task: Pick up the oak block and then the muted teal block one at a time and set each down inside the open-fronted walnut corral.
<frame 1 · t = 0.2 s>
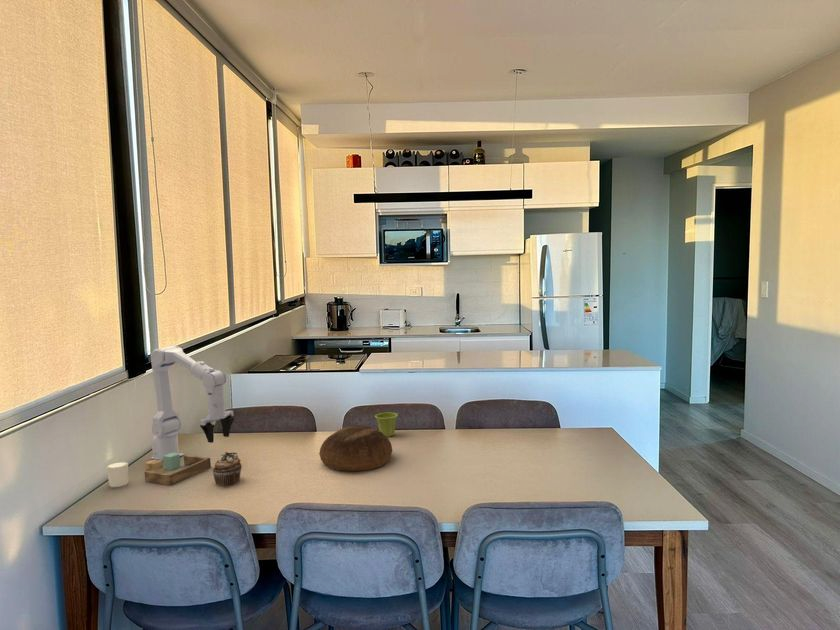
hand: (218, 439, 223), 10 cm above the table, fingers open, 7 cm apart
bread: (357, 461, 223), on the table
plant pot: (387, 435, 255), on the table
oak block: (154, 475, 216), on the table
teal block: (172, 467, 223), on the table
white cylinder: (118, 484, 208), on the table
cupcake: (228, 482, 206), on the table
corral: (178, 474, 216), on the table
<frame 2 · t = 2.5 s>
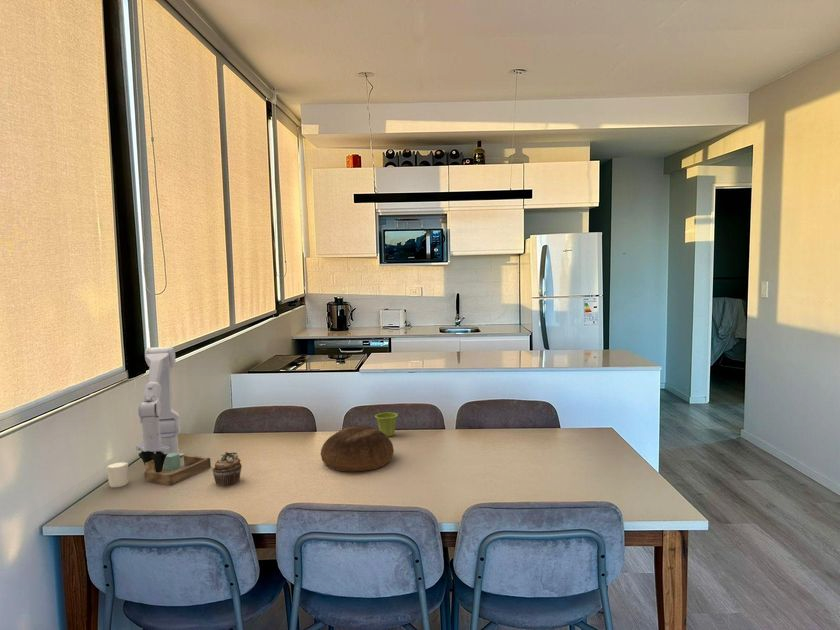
hand: (154, 471, 216), 1 cm above the table, fingers closed on oak block, 4 cm apart
oak block: (154, 475, 216), on the table, touching gripper
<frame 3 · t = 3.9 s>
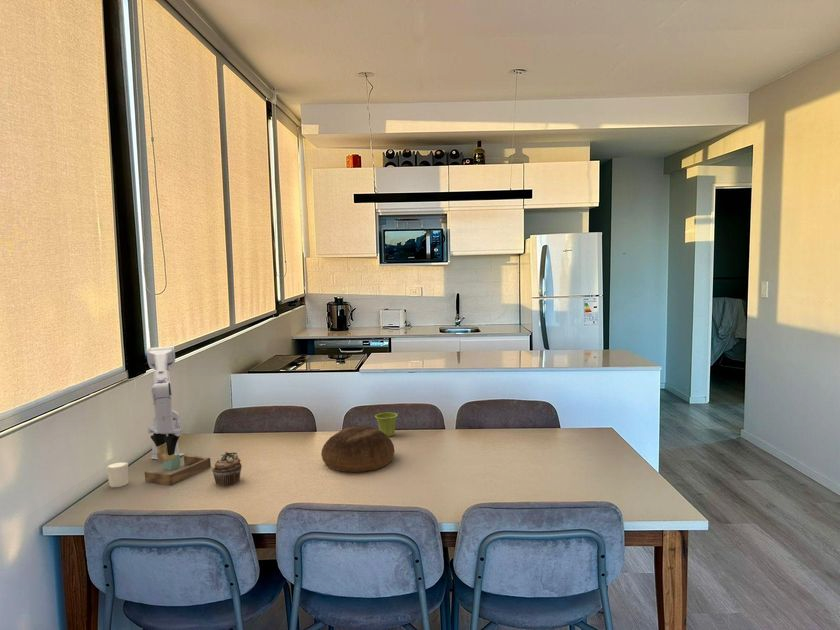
hand: (166, 453, 212), 8 cm above the table, fingers closed on oak block, 4 cm apart
oak block: (166, 459, 212), point 7 cm above the table, touching gripper
when the fingers open (4 cm above the table, at t = 5.2 s): oak block drops 2 cm, on the table.
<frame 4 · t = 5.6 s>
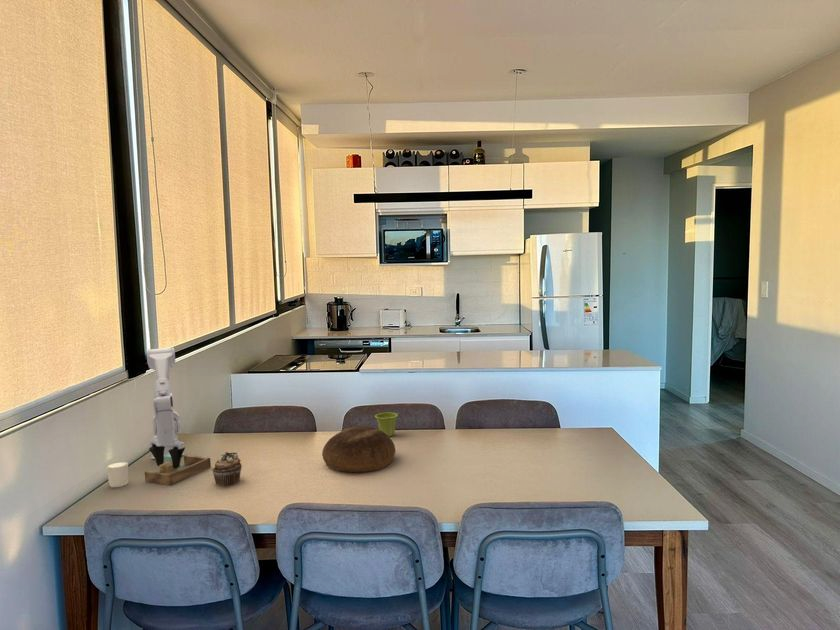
hand: (168, 466, 212), 4 cm above the table, fingers open, 7 cm apart
oak block: (168, 477, 213), on the table
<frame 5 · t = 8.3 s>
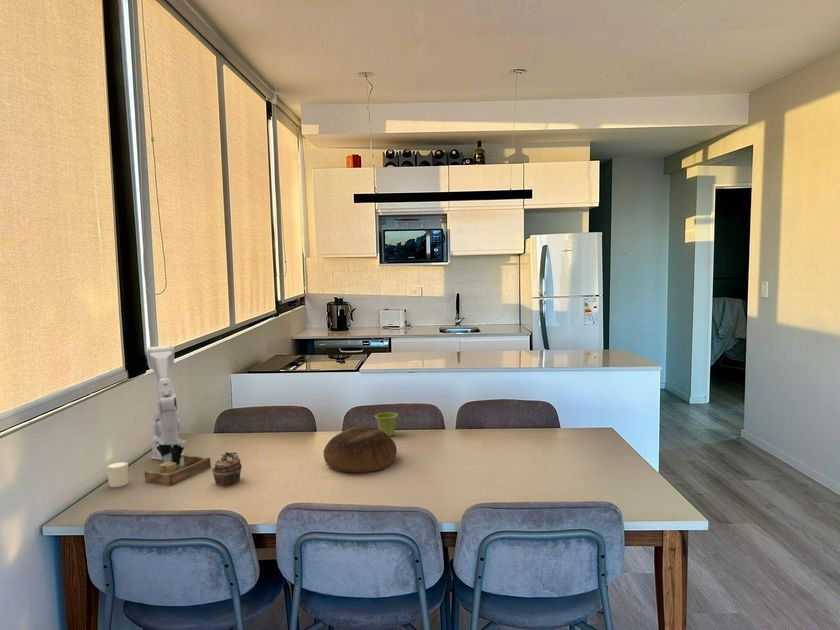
hand: (171, 464, 223), 1 cm above the table, fingers closed on teal block, 4 cm apart
teal block: (172, 467, 223), on the table, touching gripper
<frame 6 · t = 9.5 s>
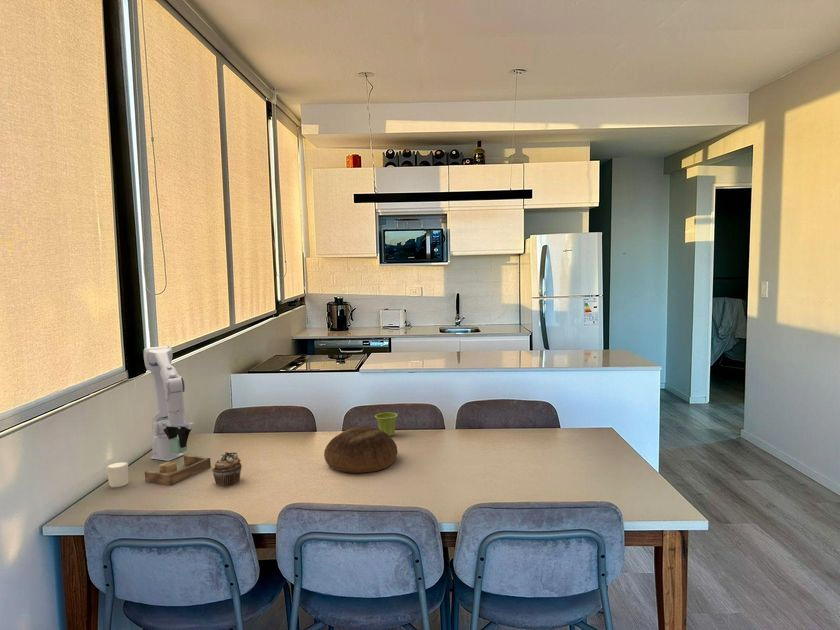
hand: (178, 446, 220), 9 cm above the table, fingers closed on teal block, 4 cm apart
teal block: (178, 451, 220), point 7 cm above the table, touching gripper
when the fingers open (4 cm above the table, at t = 10.9 s): teal block drops 2 cm, on the table.
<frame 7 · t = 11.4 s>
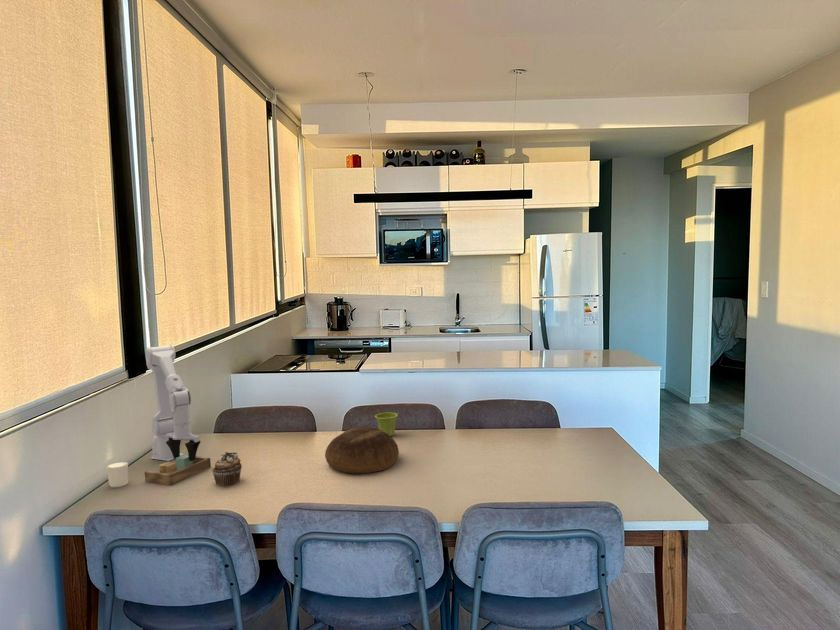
hand: (184, 459, 220), 4 cm above the table, fingers open, 7 cm apart
teal block: (184, 470, 220), on the table
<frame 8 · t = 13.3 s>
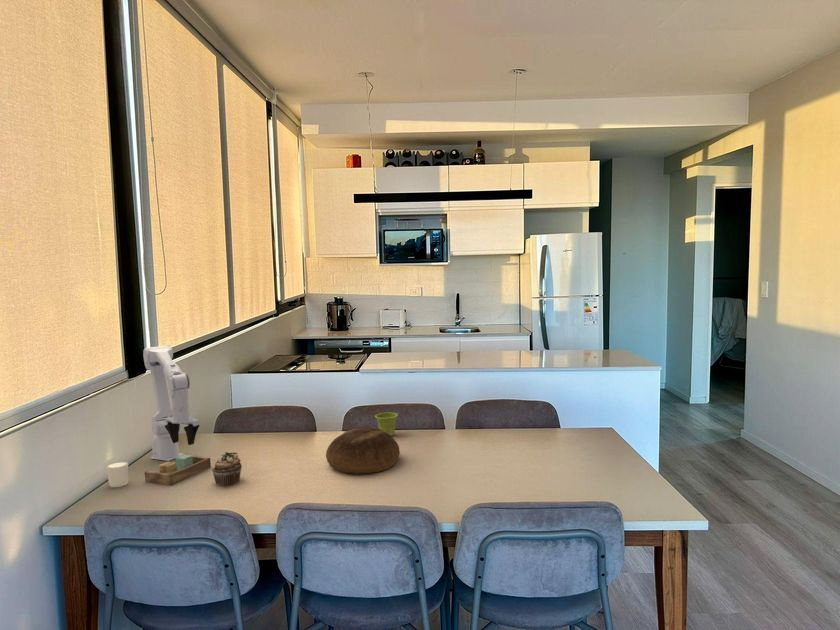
hand: (183, 443, 219), 10 cm above the table, fingers open, 7 cm apart
at the end: oak block inside the target area (3.8 cm from its centre), on the table; teal block inside the target area (4.4 cm from its centre), on the table; the gripper is holding nothing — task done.
